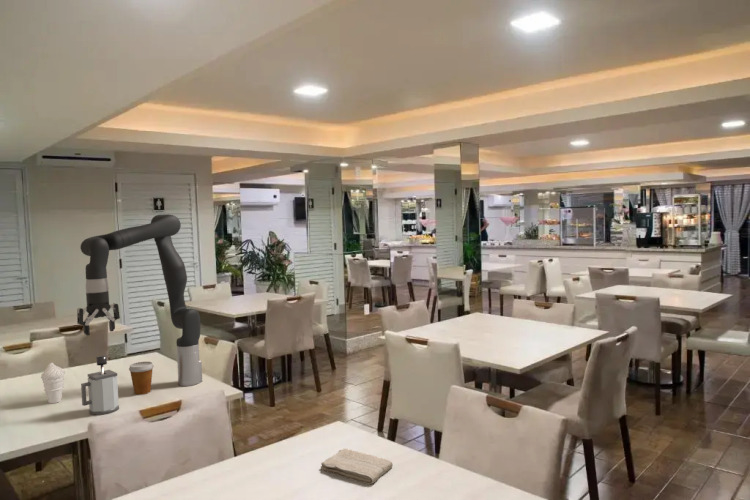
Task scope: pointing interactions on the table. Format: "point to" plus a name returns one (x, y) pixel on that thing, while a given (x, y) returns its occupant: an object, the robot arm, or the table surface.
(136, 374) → the disposable coffee cup
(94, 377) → the carafe
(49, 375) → the soft serve ice cream cone
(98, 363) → the plunger
